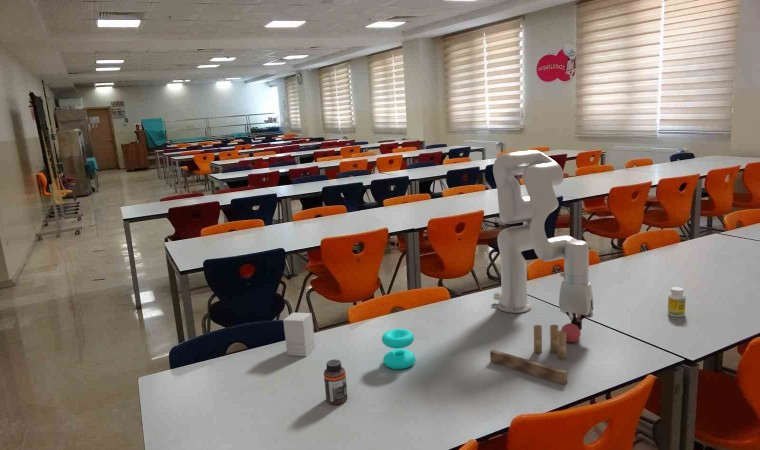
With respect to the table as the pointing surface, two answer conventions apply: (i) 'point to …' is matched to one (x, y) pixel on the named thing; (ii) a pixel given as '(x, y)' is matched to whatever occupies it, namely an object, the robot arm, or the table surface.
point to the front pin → (554, 338)
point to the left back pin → (537, 338)
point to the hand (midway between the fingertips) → (576, 331)
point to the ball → (571, 332)
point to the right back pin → (562, 345)
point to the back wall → (529, 367)
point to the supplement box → (299, 334)
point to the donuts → (398, 356)
